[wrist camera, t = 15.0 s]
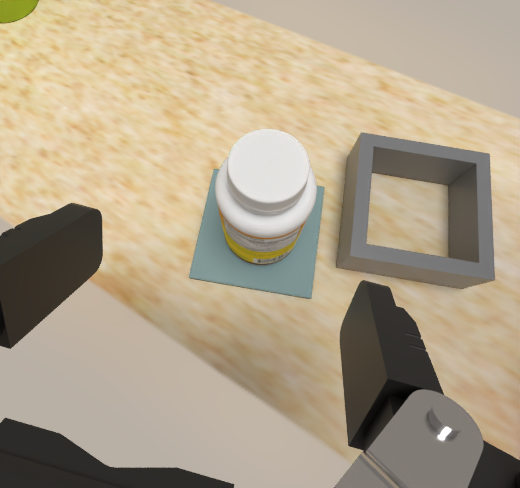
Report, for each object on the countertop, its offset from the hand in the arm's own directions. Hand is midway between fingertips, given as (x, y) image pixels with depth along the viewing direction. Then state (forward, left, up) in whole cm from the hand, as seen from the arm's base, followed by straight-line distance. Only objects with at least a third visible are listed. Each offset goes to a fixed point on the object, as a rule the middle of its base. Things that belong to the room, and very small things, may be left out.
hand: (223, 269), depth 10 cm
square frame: (-12, -9, -15) cm, 21 cm away
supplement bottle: (-1, -6, -14) cm, 16 cm away
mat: (-1, -6, -15) cm, 16 cm away
